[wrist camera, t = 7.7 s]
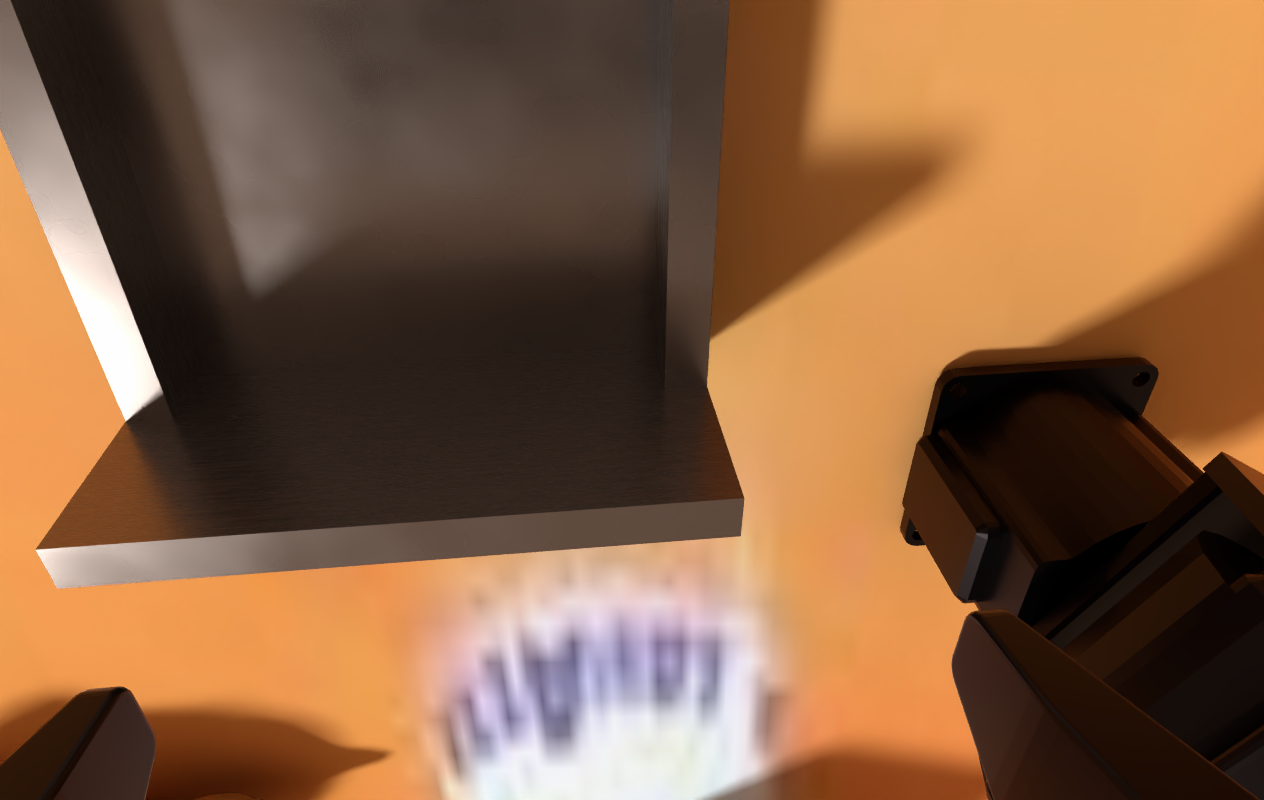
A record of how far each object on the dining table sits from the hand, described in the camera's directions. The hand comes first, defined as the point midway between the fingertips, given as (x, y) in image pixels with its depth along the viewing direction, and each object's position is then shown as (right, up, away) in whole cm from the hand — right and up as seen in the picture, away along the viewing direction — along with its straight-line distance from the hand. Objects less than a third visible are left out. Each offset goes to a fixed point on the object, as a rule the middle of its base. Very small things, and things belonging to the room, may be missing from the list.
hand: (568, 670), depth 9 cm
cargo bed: (-4, +9, +9) cm, 13 cm away
